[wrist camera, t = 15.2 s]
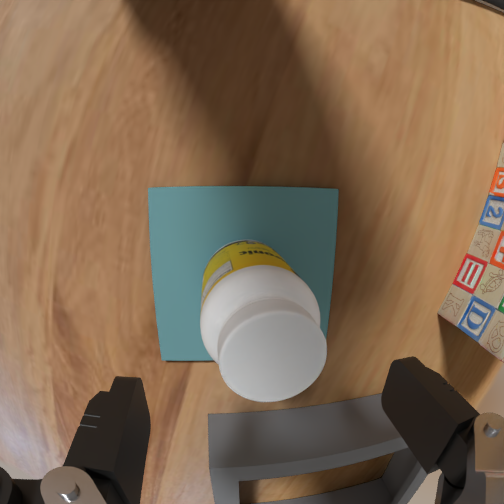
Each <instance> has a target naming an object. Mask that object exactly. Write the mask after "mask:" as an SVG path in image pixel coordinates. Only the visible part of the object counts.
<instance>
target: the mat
mask: <svg viewBox="0 0 504 504" xmlns="http://www.w3.org/2000/svg"><path fill="white" fill-rule="evenodd" d="M338 192H339V189H330V188H307V187H274V186H189V187H156V188H148V202H149V231H150V250H151V265H152V278H153V290H154V300H155V310H156V319H157V327H158V336H159V343H160V351H161V358H162V360H172V361H203V360H213V359H212V357H211V356H210V355H209V353H208V352H207V350H206V348H205V346H204V343H203V340H202V336H201V329H200V314H201V296H202V281H203V274H204V271H205V268H206V265H207V263H208V261H209V260H210V258H211V257H212V256H213V254H214V253H215V252H216V251H217V250H219V249H220V248H221V247H223V246H224V245H226V244H228V243H231V242H234V241H237V240H255V241H259V242H262V243H264V244H266V245H268V246H270V247H271V248H272V249H274V250H275V251H276V252H277V253H278V254H279V255H280V256H281V257H282V258H283V259H284V261H285V262H286V263H287V264H288V265H289V266H290V267H291V268H292V269H293V270H294V271H295V272H296V273H297V274H298V275H299V276H300V278H301V279H302V280H303V281H304V282H305V283H306V284H307V285H308V287H309V288H310V289H311V291H312V292H313V294H314V296H315V298H316V300H317V303H318V306H319V311H320V329H321V331H322V332H323V334H324V336H325V339H326V337H327V329H328V321H329V312H330V303H331V293H332V283H333V272H334V260H335V247H336V232H337V215H338Z"/></svg>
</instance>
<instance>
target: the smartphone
mask: <svg viewBox="0 0 504 504" xmlns="http://www.w3.org/2000/svg"><path fill="white" fill-rule="evenodd" d="M474 1H477V2H480V3H482V4H485V5H487V6H489V7H492V8H494V9H496V10H499V11H501V12H503V13H504V0H474Z"/></svg>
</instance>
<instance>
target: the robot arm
mask: <svg viewBox="0 0 504 504" xmlns="http://www.w3.org/2000/svg"><path fill="white" fill-rule="evenodd" d="M381 404H382V408H383V410H384V412H385V414H386V415H387V416H388V418H389V419H390V421H391V422H392V424H393V425H394V427H395V428H396V430H397V431H398V432H399V434H400V435H401V437H402V438H403V440H404V441H405V443H406V444H407V446H408V447H409V448H410V450H411V451H412V453H413V454H414V456H415V457H416V459H417V460H418V462H419V463H420V465H421V466H422V468H423V469H424V470H425V472H426V473H427V474H429V473H432V472H434V471H436V470H438V469H441V471H442V474H441V475H440V477H439V481H438V487H437V493H436V499H435V504H504V418H503V417H502V416H500V415H498V414H495V413H483V414H481V415H480V414H479V413H478V412H477V411H476V410H475V409H474V408H473V407H472V406H471V405H470V404H469V403H468V402H467V401H466V400H465V399H464V398H463V397H462V396H461V395H460V394H459V393H458V392H457V391H454V388H453V387H452V386H451V385H450V384H447V381H446V380H445V379H444V378H443V377H442V376H441V375H440V374H439V373H437V372H435V371H433V370H431V369H429V368H427V367H425V366H424V365H423V364H422V363H421V362H420V361H419V360H418V359H417V358H416V357H413V356H412V357H407V358H403V359H398V360H394V361H393V362H392V364H391V366H390V369H389V373H388V376H387V379H386V383H385V386H384V389H383V392H382V396H381ZM150 427H151V424H150V414H149V410H148V405H147V401H146V397H145V392H144V387H143V383H142V380H141V378H137V377H121V376H116V377H115V379H114V381H113V384H112V386H111V389H110V391H109V392H105V391H100V392H99V393H98V394H97V395H95V396H94V397H93V398H92V399H91V400H90V401H89V403H88V405H87V408H86V410H85V412H84V416H83V417H82V420H81V422H80V426H79V427H78V429H77V432H76V434H75V437H74V439H73V442H72V444H71V447H70V449H69V452H68V455H67V457H66V460H65V462H64V465H63V466H62V467H58V468H55V469H53V470H51V471H49V472H48V473H47V474H46V475H45V476H44V478H43V479H39V480H27V479H26V480H24V479H12V478H11V477H10V475H9V474H8V473H7V472H6V471H5V470H4V469H3V468H1V467H0V504H140V498H141V490H142V482H143V475H144V468H145V461H146V455H147V448H148V442H149V436H150Z"/></svg>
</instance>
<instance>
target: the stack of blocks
mask: <svg viewBox="0 0 504 504" xmlns="http://www.w3.org/2000/svg"><path fill="white" fill-rule="evenodd" d="M438 314H439V315H440V316H442V317H443V318H445V319H446V320H447V321H449V322H450V323H452V324H453V325H455V326H456V327H458V328H459V329H460V330H462V331H463V332H464V333H466V334H467V335H468V336H470V337H471V338H472V339H474V340H475V341H476V342H478V343H479V345H481V346H482V347H483V348H484V349H486V350H487V351H489V352H490V353H491V354H492V355H494V356H495V357H496V358H498V359H499V360H500V361H502V362H504V143H503V144H502V148H501V152H500V156H499V160H498V164H497V169H496V171H495V174H494V178H493V181H492V184H491V188H490V191H489V196H488V198H487V201H486V204H485V207H484V210H483V213H482V216H481V219H480V221H479V225H478V227H477V230H476V232H475V235H474V237H473V240H472V243H471V245H470V247H469V250H468V252H467V254H466V255H465V258H464V260H463V262H462V264H461V267H460V269H459V271H458V273H457V275H456V277H455V280H454V282H453V284H452V286H451V287H450V289H449V291H448V293H447V295H446V297H445V299H444V301H443V303H442V305H441V307H440V309H439V311H438Z"/></svg>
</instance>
